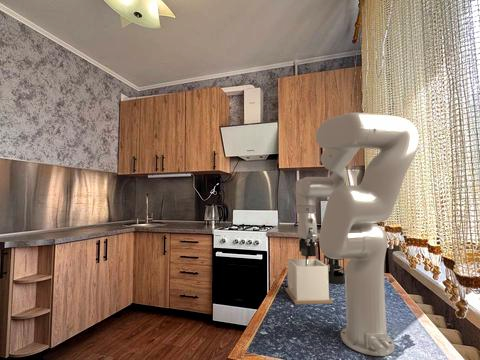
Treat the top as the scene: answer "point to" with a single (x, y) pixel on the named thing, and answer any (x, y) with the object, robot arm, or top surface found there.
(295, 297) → the white open box
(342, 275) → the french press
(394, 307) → the top surface
